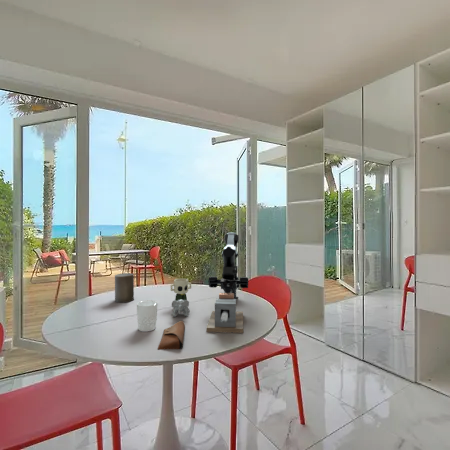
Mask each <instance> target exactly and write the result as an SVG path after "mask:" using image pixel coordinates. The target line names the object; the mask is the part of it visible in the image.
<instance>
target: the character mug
mask: <svg viewBox="0 0 450 450" xmlns="http://www.w3.org/2000/svg"><path fill="white" fill-rule="evenodd" d="M191 289H192V282H189V279H188V278H176V279H174V280H173V283H172V284H170V291H171V292H174V293H175V294H176V295H175V299H174V300H175V301H178V300H180V299H182V300H184V301H185V300H187V301H188V298H187V293H188V292H189V290H191Z"/></svg>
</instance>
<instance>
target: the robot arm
mask: <svg viewBox="0 0 450 450" xmlns="http://www.w3.org/2000/svg"><path fill="white" fill-rule="evenodd" d="M239 237H240V236H239V234H236V232H227V233H226V234H225V235H224V243H225V246H224V247H223V250H222V252H221V258H222V259H223V260H222V261H223V267H222V276H221V277H222V278H220V279H218V276H209V277H208V287H209V288H212V289H213V288H217V287H218V285H220V289H221V290H223V293H234V299H236V300H237V299H239V296H237V289H238V288H241V289H248V288H249V278H248V276H240V277H238V275H237V274H238V271H239V270H238V269H239V268H238V266H236V260H237V258H238V257H239V253H238V251H237V247H238V243H239V242H240V241H239Z"/></svg>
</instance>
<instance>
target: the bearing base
mask: <svg viewBox="0 0 450 450" xmlns="http://www.w3.org/2000/svg"><path fill="white" fill-rule="evenodd" d="M222 309H223V310H229V313H228V318H227V322H226V323H222V322H221V315H222ZM205 328H206V331H205V332H206V333H207V332H208V333H231V332H233V334H234V333H236V334H237V333H238V334H241V333H242V334H244V311H237V298H236V299H219V298H216V299H215V302H214V310H212V311H211V314H210V317H209V320H208V323H207V325H206V327H205Z"/></svg>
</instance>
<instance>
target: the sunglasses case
mask: <svg viewBox="0 0 450 450" xmlns="http://www.w3.org/2000/svg"><path fill="white" fill-rule="evenodd" d="M185 331H186V324H185V322H184V321H183V320H180V321H177V322H176V323H174V324H173V325H171V326H170V327H167V328H165V329H163V332H162V333H163V334H162V336H161V338H160V342H159V343H158V345H157V350H159V351H160V350H182V349H183V346H184V341H185V340H184V339H185Z"/></svg>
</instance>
